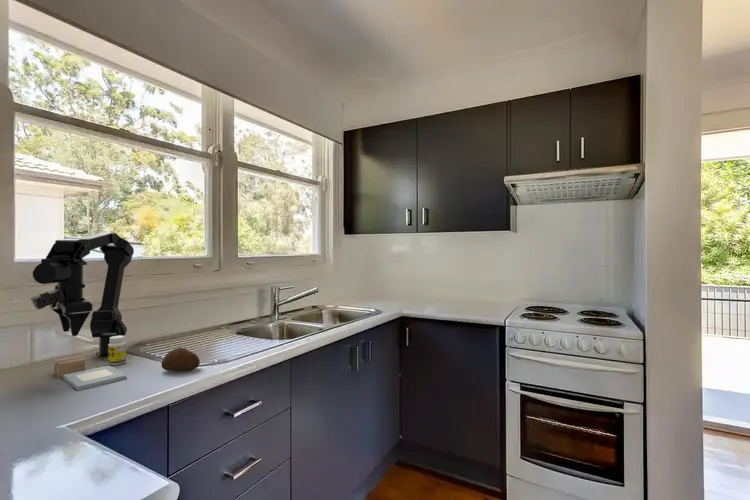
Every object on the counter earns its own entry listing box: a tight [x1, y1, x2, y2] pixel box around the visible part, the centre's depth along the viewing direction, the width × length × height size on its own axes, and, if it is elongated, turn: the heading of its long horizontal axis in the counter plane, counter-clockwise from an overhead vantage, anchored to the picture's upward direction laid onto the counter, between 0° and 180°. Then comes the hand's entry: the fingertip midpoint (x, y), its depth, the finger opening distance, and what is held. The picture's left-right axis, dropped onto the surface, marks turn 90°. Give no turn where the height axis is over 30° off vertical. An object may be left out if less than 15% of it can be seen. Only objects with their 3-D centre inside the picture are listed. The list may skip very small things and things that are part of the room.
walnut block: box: [53, 355, 86, 378], centre depth 109 cm, size 6×6×4 cm
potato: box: [161, 347, 201, 373], centre depth 111 cm, size 7×10×7 cm
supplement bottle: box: [107, 335, 127, 366], centre depth 118 cm, size 5×5×8 cm
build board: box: [62, 365, 127, 391], centre depth 104 cm, size 14×11×1 cm
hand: (70, 333), depth 109 cm, fingers open, 9 cm apart
